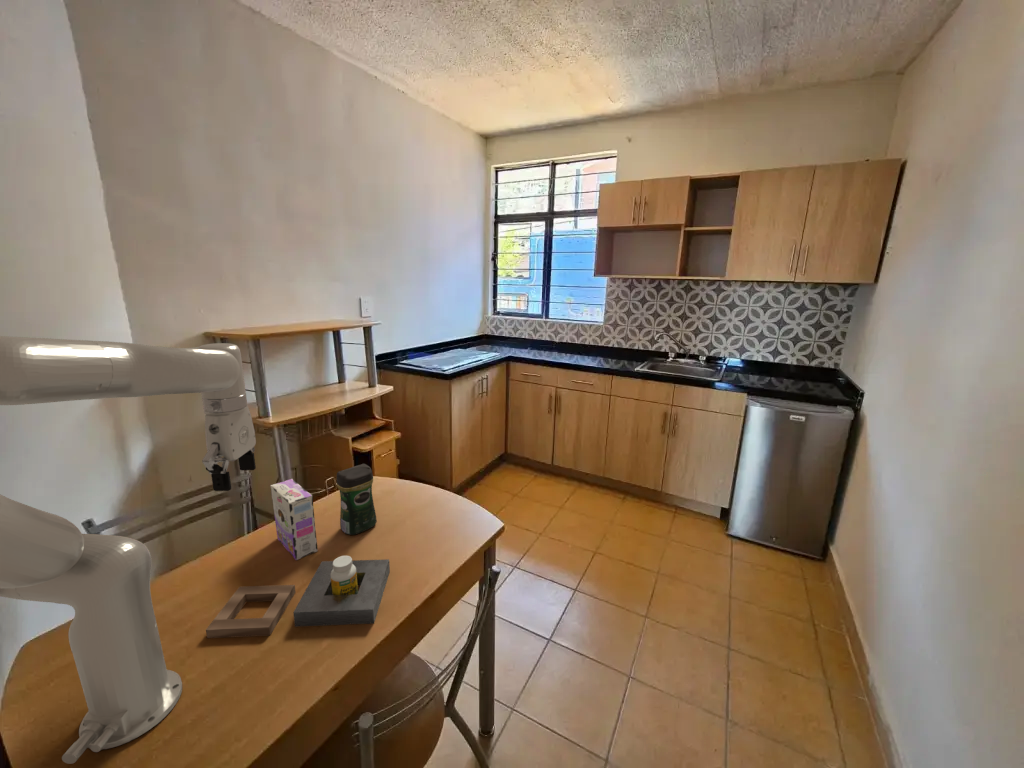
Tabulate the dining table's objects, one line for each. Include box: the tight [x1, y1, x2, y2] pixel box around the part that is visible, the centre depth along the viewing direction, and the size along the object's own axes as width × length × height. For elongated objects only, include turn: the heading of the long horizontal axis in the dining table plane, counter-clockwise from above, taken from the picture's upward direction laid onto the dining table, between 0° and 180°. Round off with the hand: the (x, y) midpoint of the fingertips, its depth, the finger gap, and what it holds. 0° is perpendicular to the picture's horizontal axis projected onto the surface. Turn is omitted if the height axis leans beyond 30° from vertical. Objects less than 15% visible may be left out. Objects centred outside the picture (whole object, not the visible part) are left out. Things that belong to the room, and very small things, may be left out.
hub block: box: [292, 558, 391, 628], centre depth 94 cm, size 16×16×4 cm
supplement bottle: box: [331, 555, 359, 595], centre depth 93 cm, size 5×5×10 cm
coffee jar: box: [336, 463, 378, 536], centre depth 119 cm, size 10×8×19 cm
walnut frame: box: [205, 584, 296, 639], centre depth 89 cm, size 12×12×2 cm
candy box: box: [270, 478, 319, 561], centre depth 110 cm, size 14×6×16 cm, turn 47°
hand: (236, 479), depth 90 cm, fingers open, 9 cm apart
